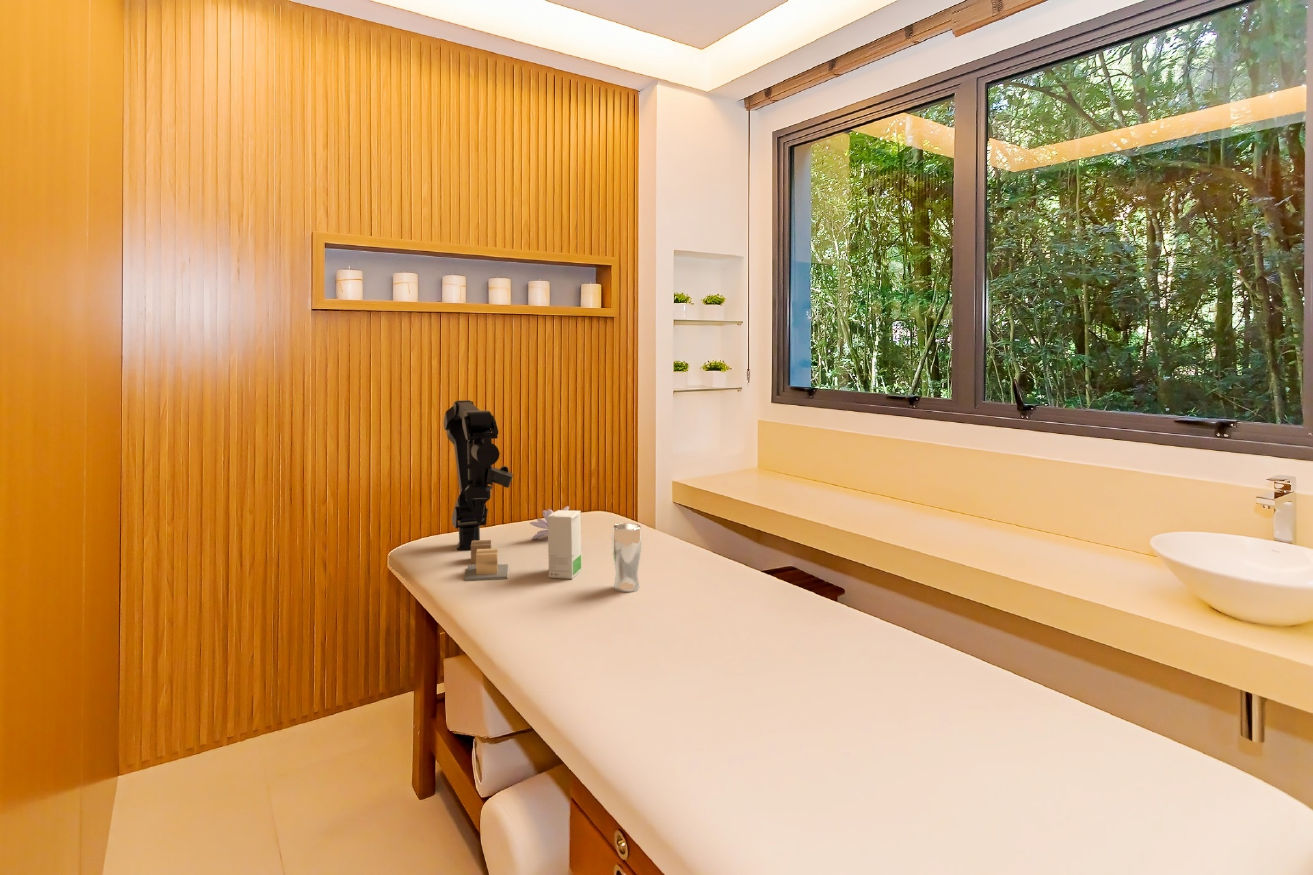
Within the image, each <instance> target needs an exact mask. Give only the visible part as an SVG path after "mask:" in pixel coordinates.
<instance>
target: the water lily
mask: <svg viewBox="0 0 1313 875" xmlns="http://www.w3.org/2000/svg"><path fill="white" fill-rule="evenodd" d="M569 509H570V507H569V505H567V506H565V507H563V509H562V510H569ZM553 512H554V511H553V510H552V509H551V508H548V509H547V510H542V515H543V516H542V517H543V518H544V519H542V518H537V519H536V521H531V522H529V524H530V525H532V526H533V527H536V528H540V529H543V530H539V531H537V532H536V533H535V534H534V535H533V536H532V537H531V540H536V539H541V538H543V537H545V536H548V516H549V515H550V514H552V513H553Z"/></svg>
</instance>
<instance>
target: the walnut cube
mask: <svg viewBox="0 0 1313 875" xmlns="http://www.w3.org/2000/svg"><path fill="white" fill-rule="evenodd" d="M477 549H492V540H491V539H483V540H482V539H480V540H475V541H472V542H471V549H470V565H476V564H475V563H476V552H477Z"/></svg>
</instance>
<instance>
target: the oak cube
mask: <svg viewBox="0 0 1313 875" xmlns="http://www.w3.org/2000/svg"><path fill="white" fill-rule="evenodd" d="M498 555H499V554H498V547H497V548H491V549H477V552H476V564H475V566H476V575H479V574H497V571H498V565H499V561H498V560H499V559H498Z"/></svg>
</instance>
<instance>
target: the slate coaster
mask: <svg viewBox="0 0 1313 875" xmlns="http://www.w3.org/2000/svg"><path fill="white" fill-rule="evenodd" d="M508 570H509V565H508V563H506V564H505V563H504V564H502V563H501V564H499V563H498V571H497V574H479V575H476V565H467V569H466V572H465V577H464V581H466V582H467V581H468V582H469V581H470V580H471V581H485V580H486V581H487V580H488V581H489V580H505V579H506V580H508V572H509V571H508Z"/></svg>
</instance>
